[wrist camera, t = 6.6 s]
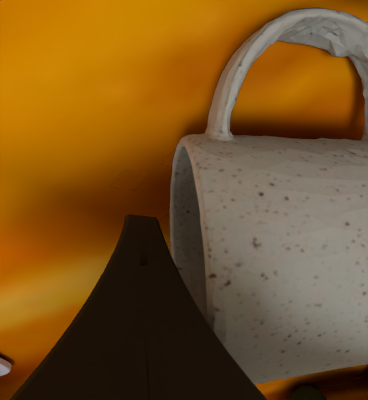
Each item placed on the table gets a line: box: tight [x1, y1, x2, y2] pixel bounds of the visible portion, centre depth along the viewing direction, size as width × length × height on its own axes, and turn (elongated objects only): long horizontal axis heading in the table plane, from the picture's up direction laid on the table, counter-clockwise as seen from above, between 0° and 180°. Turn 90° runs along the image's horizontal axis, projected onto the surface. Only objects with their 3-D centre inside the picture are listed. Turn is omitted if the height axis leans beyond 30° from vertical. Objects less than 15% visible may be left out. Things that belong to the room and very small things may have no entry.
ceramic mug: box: [169, 7, 368, 385], centre depth 10 cm, size 11×8×8 cm
